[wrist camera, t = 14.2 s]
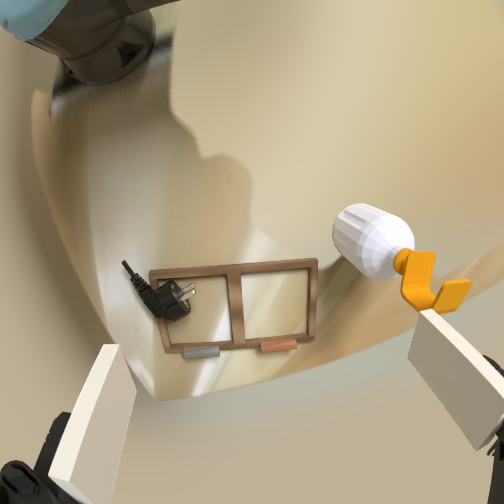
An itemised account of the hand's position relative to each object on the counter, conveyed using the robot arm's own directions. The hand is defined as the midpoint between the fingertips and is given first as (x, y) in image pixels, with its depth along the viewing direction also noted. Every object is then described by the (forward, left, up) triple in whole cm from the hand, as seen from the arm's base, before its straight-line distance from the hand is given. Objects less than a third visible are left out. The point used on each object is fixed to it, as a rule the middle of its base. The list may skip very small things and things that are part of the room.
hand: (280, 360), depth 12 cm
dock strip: (+16, -1, -34) cm, 37 cm away
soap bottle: (+4, +19, -34) cm, 39 cm away
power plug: (+4, -15, -30) cm, 34 cm away
